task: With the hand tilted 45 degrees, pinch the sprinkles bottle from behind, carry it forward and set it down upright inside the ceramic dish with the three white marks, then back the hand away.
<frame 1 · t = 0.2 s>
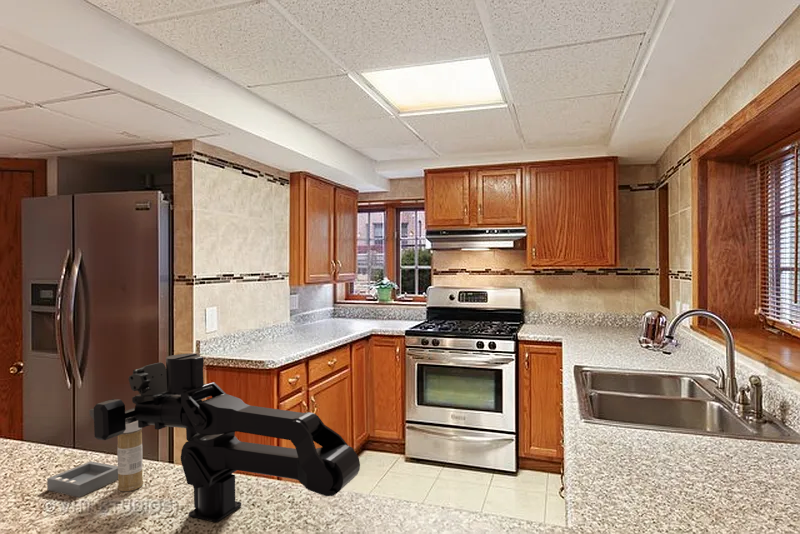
hand: (112, 405, 96), 17 cm above the countertop, tool horizontal, fingers open, 9 cm apart
dish: (85, 483, 99), on the countertop
sprinkles bottle: (130, 488, 97), on the countertop
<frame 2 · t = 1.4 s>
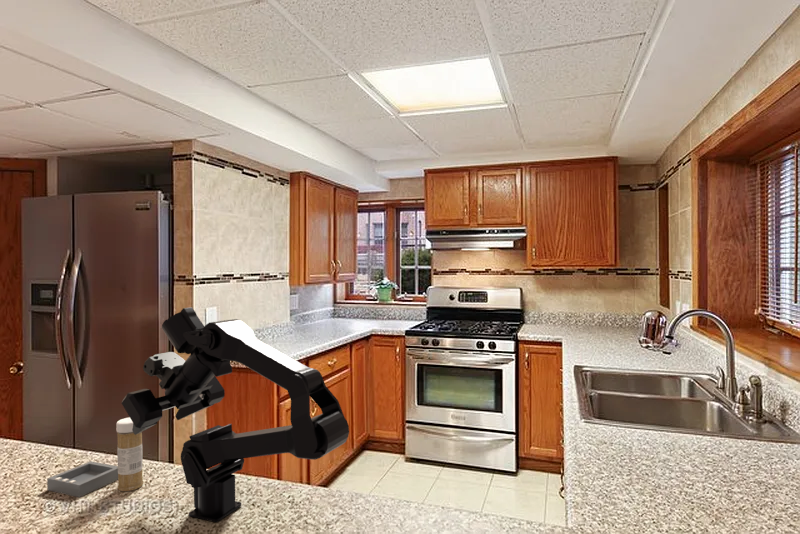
hand: (156, 425, 94), 13 cm above the countertop, tool tilted 45°, fingers open, 9 cm apart
nothing on the countertop moved.
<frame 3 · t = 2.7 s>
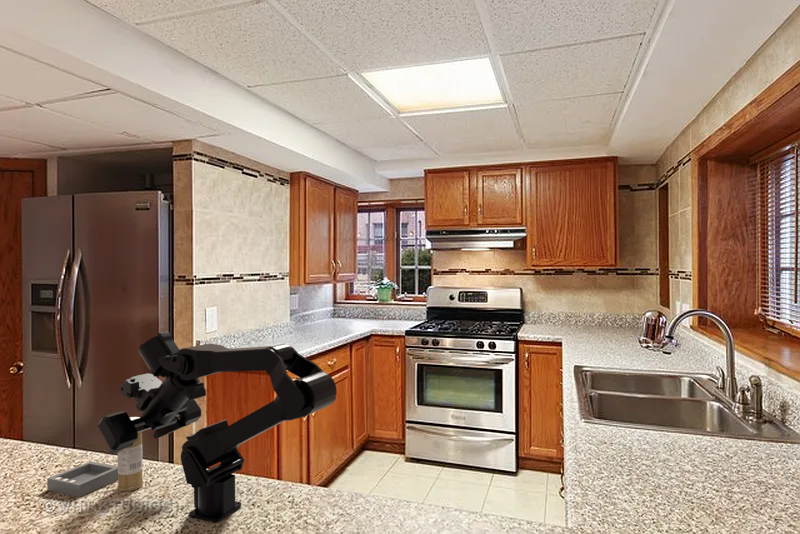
hand: (134, 444, 96), 9 cm above the countertop, tool tilted 45°, fingers open, 9 cm apart
nothing on the countertop moved.
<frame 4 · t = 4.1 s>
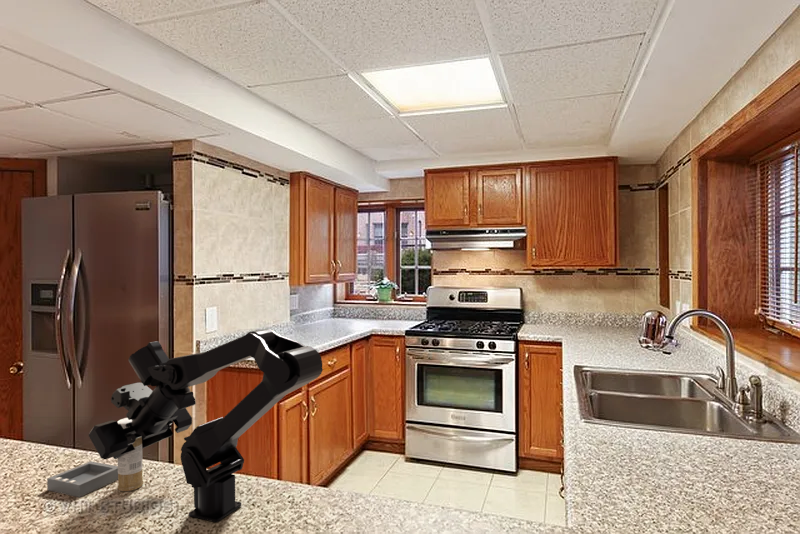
hand: (125, 452, 98), 7 cm above the countertop, tool tilted 45°, fingers closed on sprinkles bottle, 4 cm apart
sprinkles bottle: (130, 488, 97), on the countertop, touching gripper
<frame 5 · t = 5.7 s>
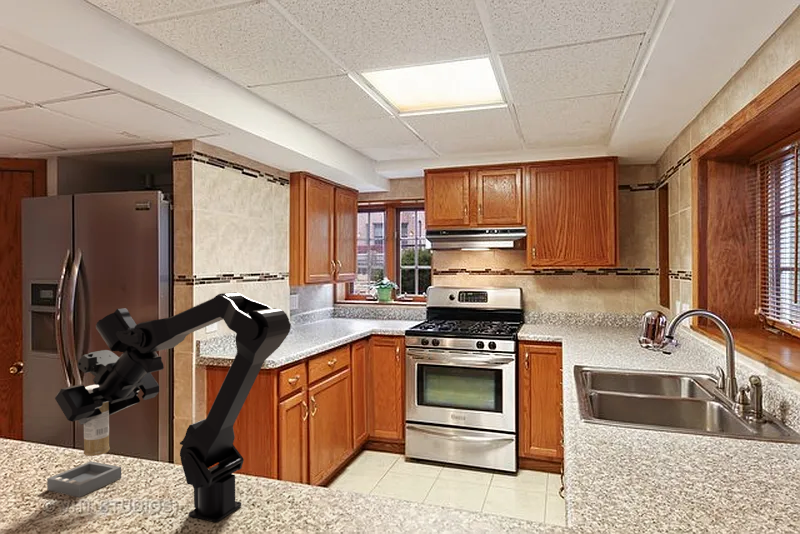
hand: (91, 419, 99), 13 cm above the countertop, tool tilted 45°, fingers closed on sprinkles bottle, 4 cm apart
sprinkles bottle: (96, 453, 98), point 6 cm above the countertop, touching gripper
when the fingers open (8 cm above the countertop, at t = 7.2 s): sprinkles bottle stays where it is, resting on dish.
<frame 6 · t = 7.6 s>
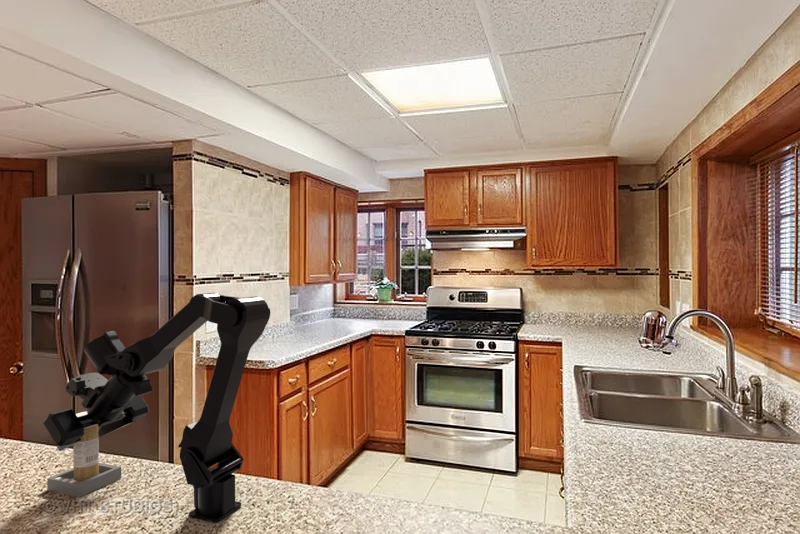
hand: (80, 441, 99), 8 cm above the countertop, tool tilted 45°, fingers open, 8 cm apart
sprinkles bottle: (86, 481, 99), point 1 cm above the countertop, touching dish
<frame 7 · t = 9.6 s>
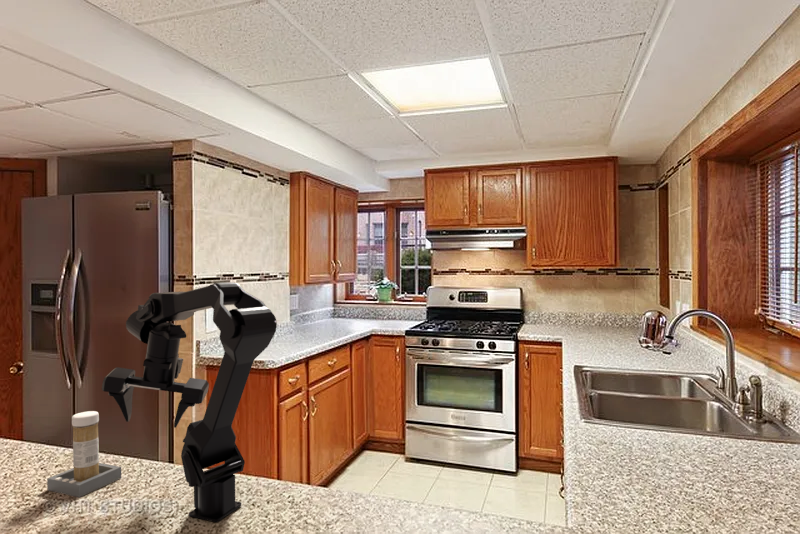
hand: (152, 423, 100), 12 cm above the countertop, tool tilted 15°, fingers open, 9 cm apart
nothing on the countertop moved.
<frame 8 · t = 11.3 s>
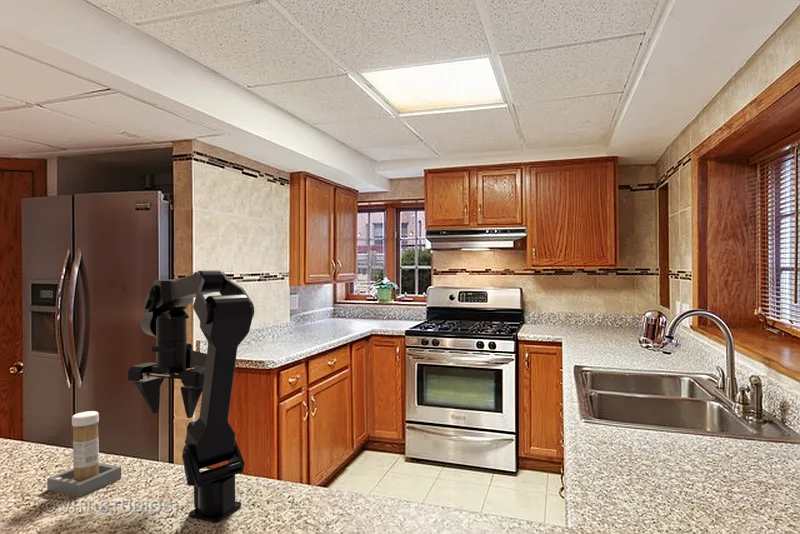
hand: (172, 415, 101), 13 cm above the countertop, tool pointing down, fingers open, 9 cm apart
nothing on the countertop moved.
at the end: sprinkles bottle 0.3 cm off-centre on the dish, point 0.6 cm above the dish's base; sprinkles bottle tilted 0°; the gripper is holding nothing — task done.
